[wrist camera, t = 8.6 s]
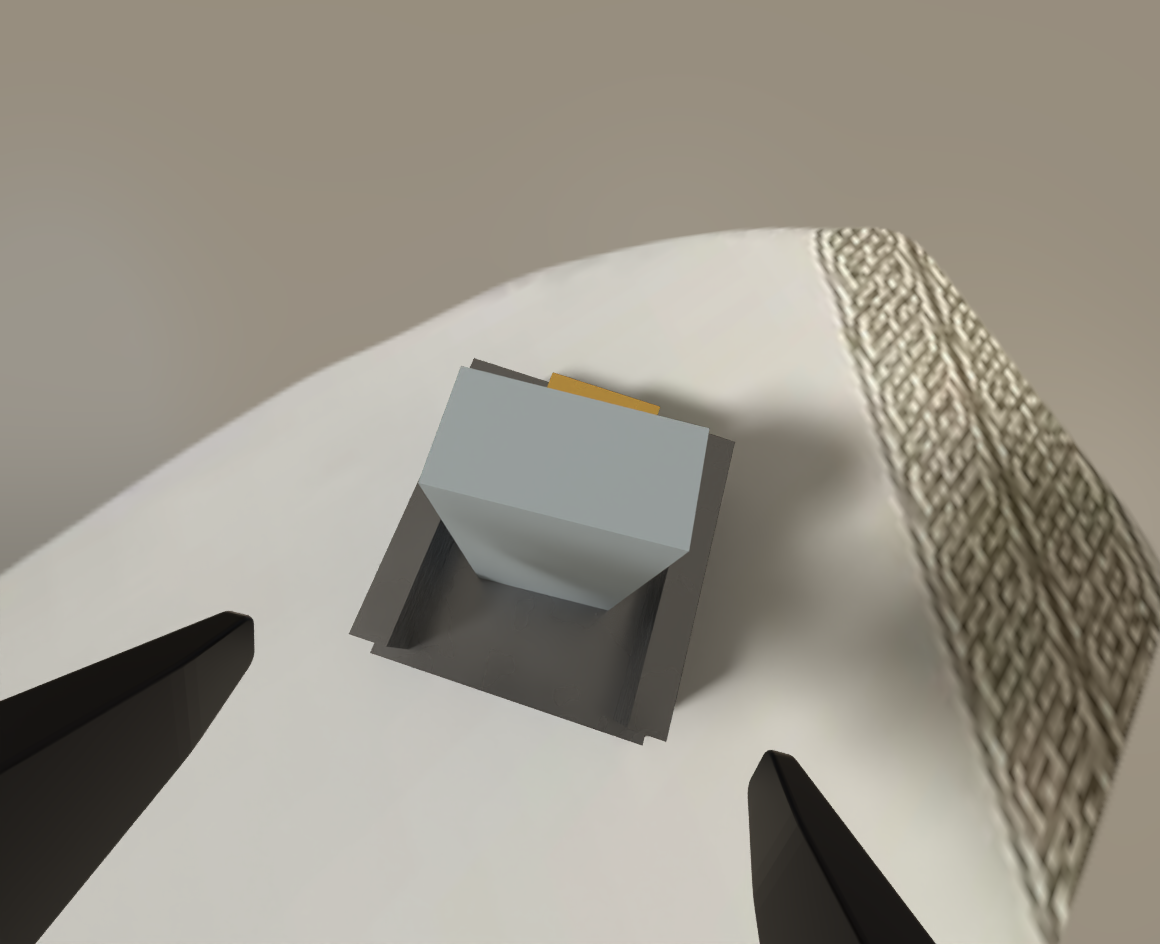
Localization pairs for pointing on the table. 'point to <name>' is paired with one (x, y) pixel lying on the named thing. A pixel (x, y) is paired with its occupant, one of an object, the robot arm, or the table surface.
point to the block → (562, 488)
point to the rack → (544, 614)
